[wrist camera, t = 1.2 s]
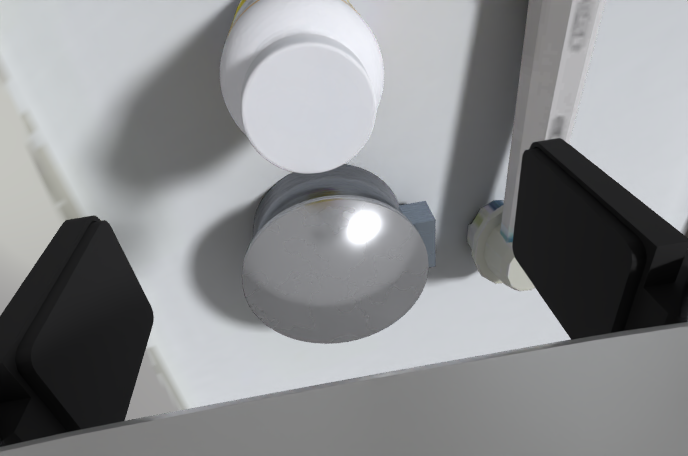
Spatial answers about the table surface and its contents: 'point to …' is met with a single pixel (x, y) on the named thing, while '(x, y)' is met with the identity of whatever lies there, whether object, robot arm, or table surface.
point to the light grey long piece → (537, 119)
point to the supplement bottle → (302, 81)
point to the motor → (336, 256)
